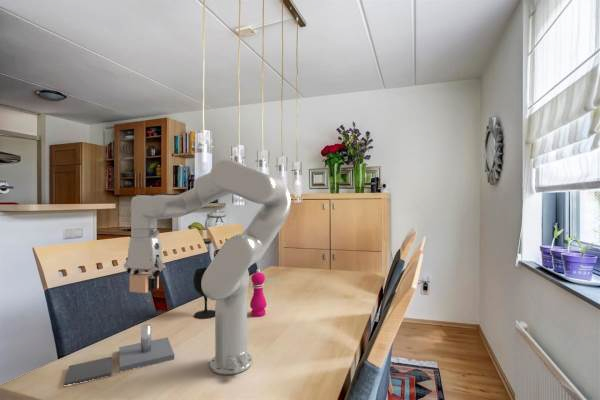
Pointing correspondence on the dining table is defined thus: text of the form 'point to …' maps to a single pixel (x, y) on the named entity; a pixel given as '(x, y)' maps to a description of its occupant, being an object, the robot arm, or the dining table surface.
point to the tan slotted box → (141, 282)
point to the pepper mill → (258, 295)
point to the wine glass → (197, 285)
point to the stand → (145, 354)
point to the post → (145, 338)
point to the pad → (89, 370)
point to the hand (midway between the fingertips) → (144, 288)
